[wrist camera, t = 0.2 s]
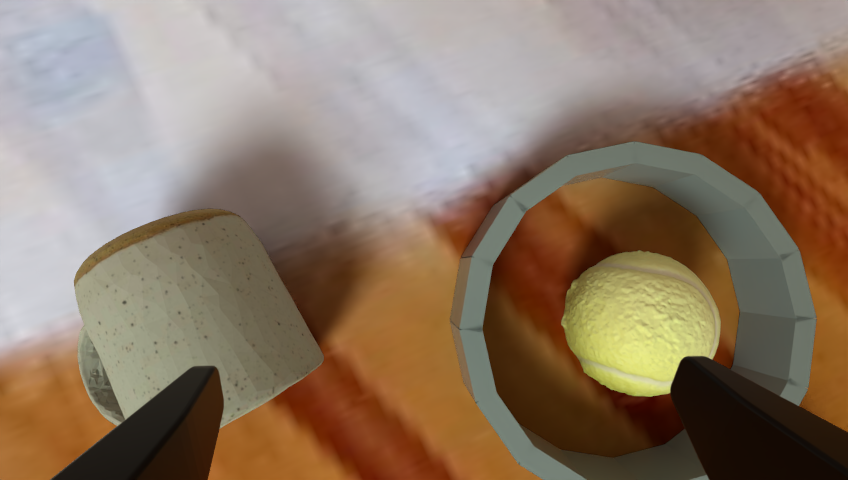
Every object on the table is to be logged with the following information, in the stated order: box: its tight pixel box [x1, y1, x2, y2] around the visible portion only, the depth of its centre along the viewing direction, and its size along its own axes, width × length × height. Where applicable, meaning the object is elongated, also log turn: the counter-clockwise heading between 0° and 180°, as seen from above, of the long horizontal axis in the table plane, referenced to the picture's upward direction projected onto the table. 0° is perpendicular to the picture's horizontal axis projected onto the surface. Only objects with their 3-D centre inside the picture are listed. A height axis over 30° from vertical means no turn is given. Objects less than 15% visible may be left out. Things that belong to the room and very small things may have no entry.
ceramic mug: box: [74, 209, 324, 429], centre depth 20 cm, size 11×8×8 cm
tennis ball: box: [561, 250, 721, 397], centre depth 22 cm, size 6×7×7 cm
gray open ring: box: [450, 141, 817, 480], centre depth 23 cm, size 16×16×4 cm
